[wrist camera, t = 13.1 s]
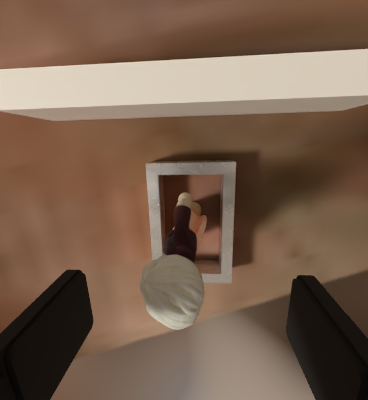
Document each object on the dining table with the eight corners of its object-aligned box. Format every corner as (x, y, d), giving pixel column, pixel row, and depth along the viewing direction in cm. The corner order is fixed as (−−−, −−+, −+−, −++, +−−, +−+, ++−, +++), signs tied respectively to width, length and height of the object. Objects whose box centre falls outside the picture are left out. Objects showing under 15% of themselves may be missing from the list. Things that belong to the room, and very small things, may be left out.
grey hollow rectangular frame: (231, 159, 19) (236, 161, 17) (227, 268, 22) (231, 283, 20) (152, 161, 20) (145, 163, 18) (158, 267, 23) (153, 281, 21)
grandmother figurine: (208, 250, 22) (220, 380, 10) (173, 251, 22) (141, 378, 10) (204, 178, 20) (213, 228, 8) (165, 181, 20) (116, 233, 8)
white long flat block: (346, 79, 17) (420, 45, 11) (341, 110, 18) (409, 93, 12) (50, 93, 19) (-15, 70, 13) (54, 120, 20) (-6, 110, 14)
